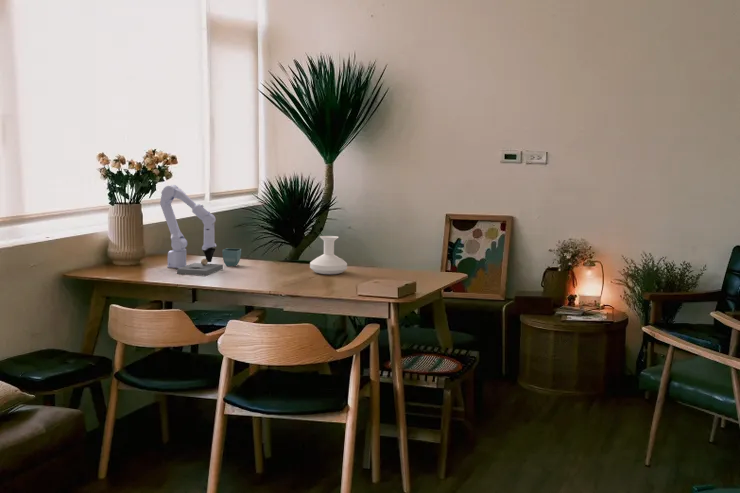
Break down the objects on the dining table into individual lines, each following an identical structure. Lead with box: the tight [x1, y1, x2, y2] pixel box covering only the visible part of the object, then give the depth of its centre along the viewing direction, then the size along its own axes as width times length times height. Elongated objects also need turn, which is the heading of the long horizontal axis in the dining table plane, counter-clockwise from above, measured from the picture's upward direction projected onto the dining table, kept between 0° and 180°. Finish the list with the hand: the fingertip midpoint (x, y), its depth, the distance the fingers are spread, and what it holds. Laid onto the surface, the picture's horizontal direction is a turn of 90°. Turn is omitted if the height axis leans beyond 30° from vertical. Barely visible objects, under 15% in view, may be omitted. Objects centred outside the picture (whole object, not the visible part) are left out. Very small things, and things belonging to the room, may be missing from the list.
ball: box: [200, 258, 209, 265], centre depth 430 cm, size 4×4×4 cm
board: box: [176, 262, 224, 276], centre depth 425 cm, size 16×22×2 cm
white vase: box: [309, 235, 348, 275], centre depth 431 cm, size 20×20×19 cm
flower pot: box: [221, 247, 242, 267], centre depth 447 cm, size 9×9×9 cm
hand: (209, 261), depth 436 cm, fingers closed
